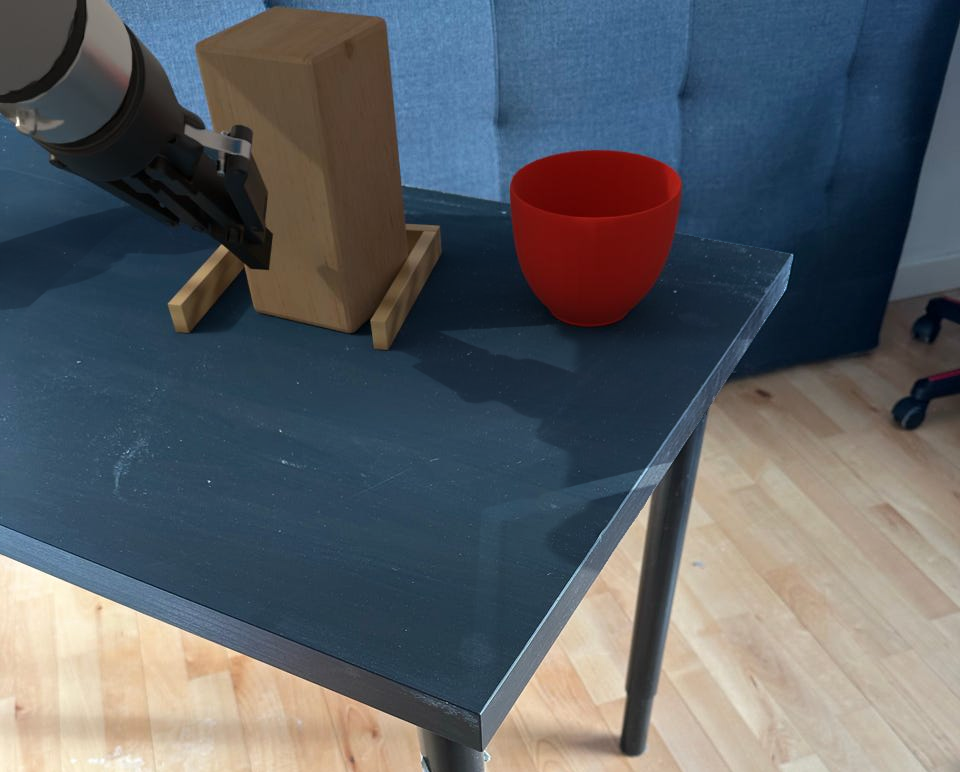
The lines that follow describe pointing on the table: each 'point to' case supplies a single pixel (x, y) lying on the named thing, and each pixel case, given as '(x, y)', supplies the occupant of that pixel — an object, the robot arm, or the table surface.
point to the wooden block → (316, 157)
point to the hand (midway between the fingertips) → (261, 251)
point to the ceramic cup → (593, 230)
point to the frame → (384, 322)
